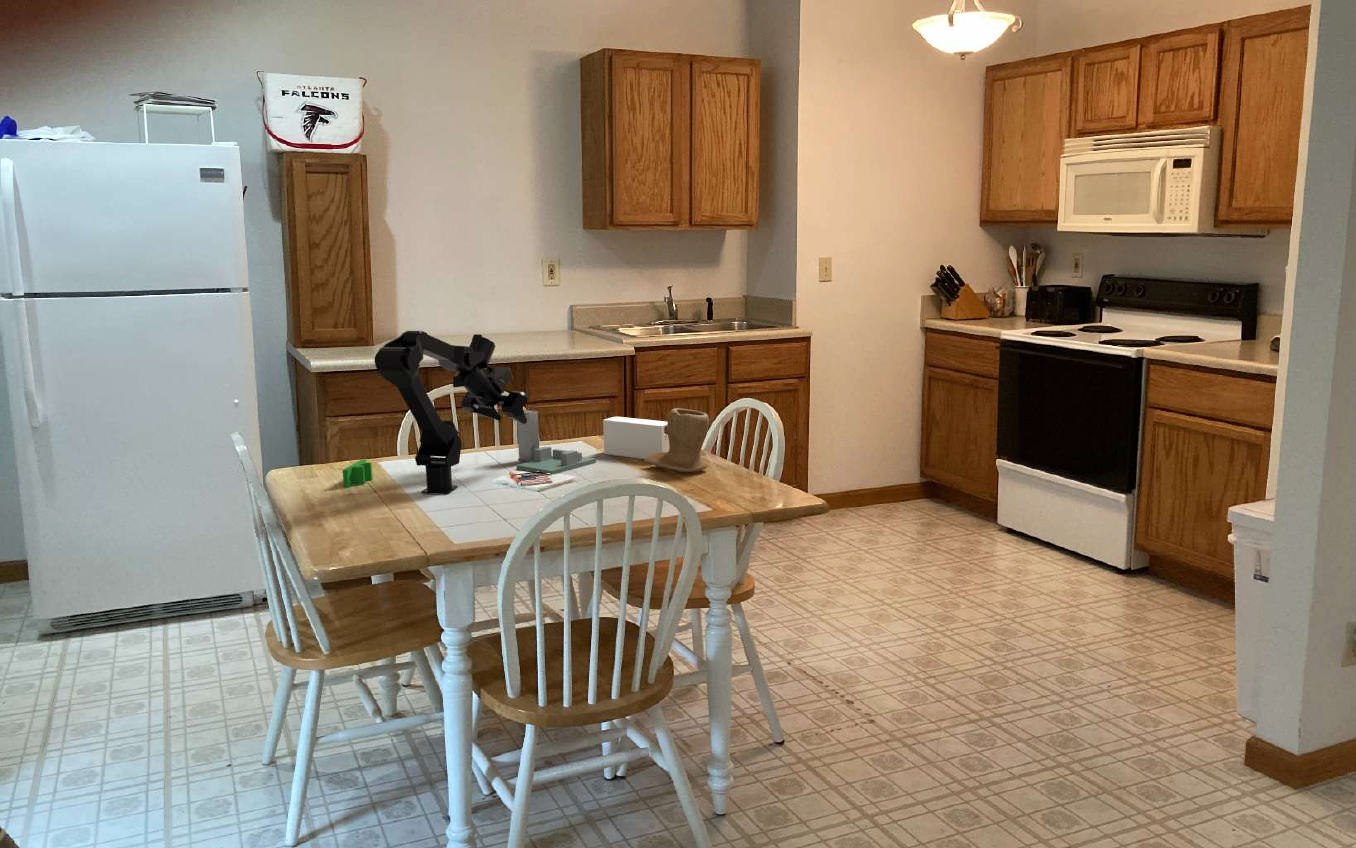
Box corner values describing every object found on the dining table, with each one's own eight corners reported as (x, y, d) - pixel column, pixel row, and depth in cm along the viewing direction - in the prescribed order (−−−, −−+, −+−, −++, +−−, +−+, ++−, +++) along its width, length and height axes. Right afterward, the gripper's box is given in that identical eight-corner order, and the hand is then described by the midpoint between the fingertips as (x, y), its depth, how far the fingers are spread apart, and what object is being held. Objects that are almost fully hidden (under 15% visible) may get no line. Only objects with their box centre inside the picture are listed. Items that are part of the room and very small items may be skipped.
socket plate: (551, 474, 265) (550, 458, 264) (516, 469, 272) (515, 453, 271) (595, 462, 277) (595, 447, 276) (561, 457, 284) (560, 442, 283)
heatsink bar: (531, 463, 277) (529, 413, 275) (518, 461, 280) (515, 411, 278) (541, 461, 280) (538, 411, 278) (527, 459, 283) (525, 409, 280)
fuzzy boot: (720, 470, 266) (719, 409, 263) (682, 478, 258) (680, 415, 255) (680, 460, 277) (679, 402, 274) (643, 468, 270) (641, 408, 267)
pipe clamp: (359, 489, 256) (357, 469, 255) (343, 488, 256) (342, 469, 255) (377, 477, 267) (376, 459, 266) (363, 477, 267) (361, 459, 266)
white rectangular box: (675, 458, 280) (674, 422, 279) (662, 462, 276) (661, 425, 274) (613, 450, 292) (612, 415, 290) (600, 454, 287) (599, 419, 285)
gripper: (520, 359, 261) (554, 398, 272) (467, 355, 272) (501, 392, 283) (498, 396, 257) (533, 434, 267) (444, 390, 268) (481, 427, 278)
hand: (512, 420), depth 274 cm, fingers open, 9 cm apart
